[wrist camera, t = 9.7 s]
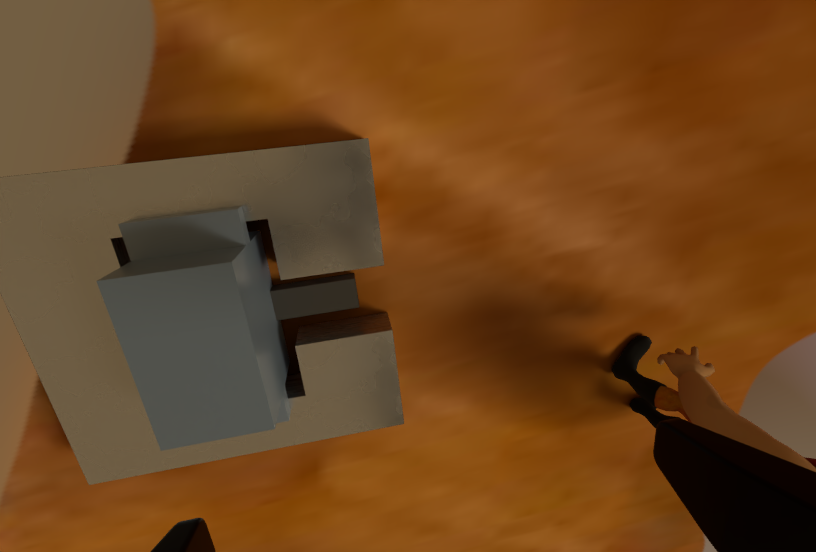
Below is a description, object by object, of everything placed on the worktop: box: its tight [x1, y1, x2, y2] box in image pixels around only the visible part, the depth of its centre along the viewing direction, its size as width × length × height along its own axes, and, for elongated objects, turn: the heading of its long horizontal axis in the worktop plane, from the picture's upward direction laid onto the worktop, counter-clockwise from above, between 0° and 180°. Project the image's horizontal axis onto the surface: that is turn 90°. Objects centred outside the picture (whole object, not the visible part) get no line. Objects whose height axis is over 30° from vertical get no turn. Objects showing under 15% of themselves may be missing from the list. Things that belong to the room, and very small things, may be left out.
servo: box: [96, 206, 359, 451], centre depth 16 cm, size 8×9×5 cm
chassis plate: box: [0, 138, 404, 485], centre depth 17 cm, size 14×13×2 cm
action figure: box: [612, 336, 816, 472], centre depth 16 cm, size 10×4×15 cm, turn 33°
